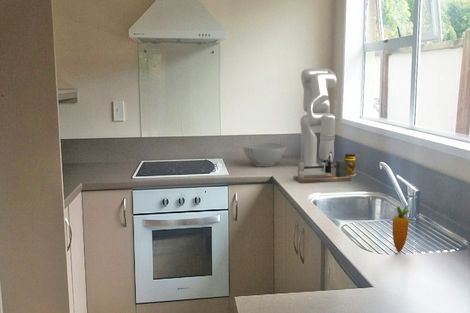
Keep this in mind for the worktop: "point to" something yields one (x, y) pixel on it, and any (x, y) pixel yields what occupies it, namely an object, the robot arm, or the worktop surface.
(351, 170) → the condiment
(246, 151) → the decorative bowl
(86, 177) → the worktop surface
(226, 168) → the worktop surface
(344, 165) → the rod slider rig
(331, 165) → the sleeve
